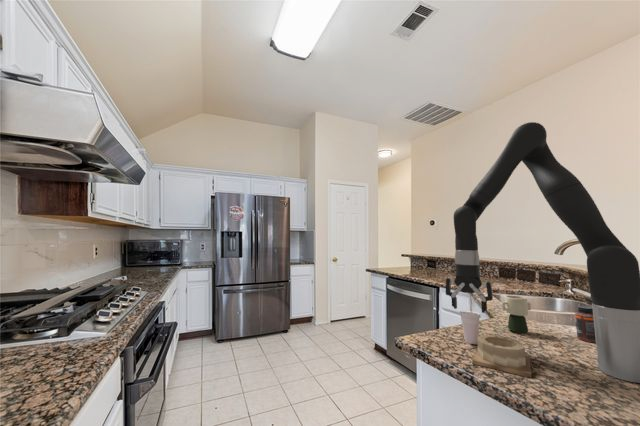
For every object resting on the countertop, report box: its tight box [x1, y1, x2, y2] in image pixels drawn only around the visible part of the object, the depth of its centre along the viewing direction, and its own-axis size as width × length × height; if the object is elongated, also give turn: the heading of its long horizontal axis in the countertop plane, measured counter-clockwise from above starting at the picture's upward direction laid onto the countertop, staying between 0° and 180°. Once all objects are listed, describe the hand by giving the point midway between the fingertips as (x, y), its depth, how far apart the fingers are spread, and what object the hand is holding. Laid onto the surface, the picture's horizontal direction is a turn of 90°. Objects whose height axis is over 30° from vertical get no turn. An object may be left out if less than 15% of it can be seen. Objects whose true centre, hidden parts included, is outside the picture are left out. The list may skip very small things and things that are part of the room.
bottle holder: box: [471, 334, 532, 379], centre depth 76 cm, size 13×13×6 cm
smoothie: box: [459, 299, 481, 345], centre depth 92 cm, size 6×6×14 cm
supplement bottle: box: [574, 305, 596, 344], centre depth 94 cm, size 6×6×11 cm
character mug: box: [501, 294, 532, 334], centre depth 102 cm, size 11×7×13 cm, turn 90°
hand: (468, 310), depth 92 cm, fingers open, 8 cm apart
